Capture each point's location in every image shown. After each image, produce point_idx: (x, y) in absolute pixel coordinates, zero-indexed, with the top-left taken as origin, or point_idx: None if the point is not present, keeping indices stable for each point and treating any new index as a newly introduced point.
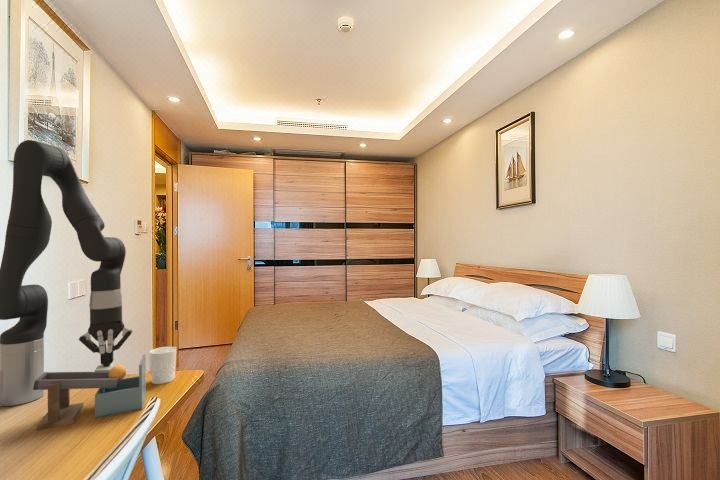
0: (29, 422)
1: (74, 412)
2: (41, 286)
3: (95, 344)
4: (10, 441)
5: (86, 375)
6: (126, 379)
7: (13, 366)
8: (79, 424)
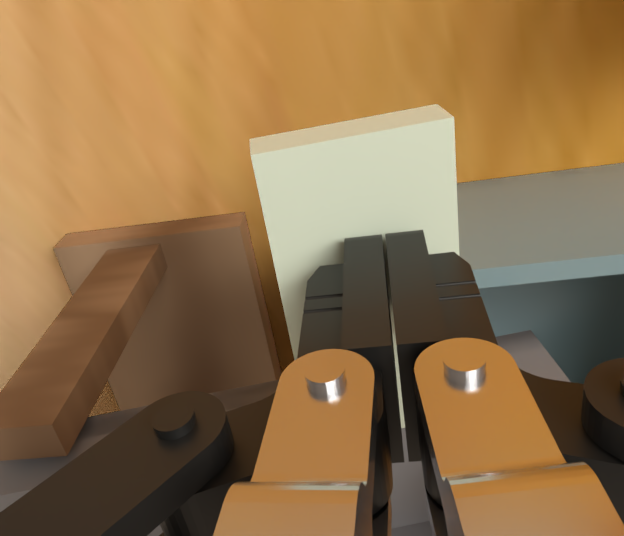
0: (30, 325)
1: (257, 367)
2: None
3: (131, 531)
4: None
5: None
6: (577, 274)
7: None
8: None
